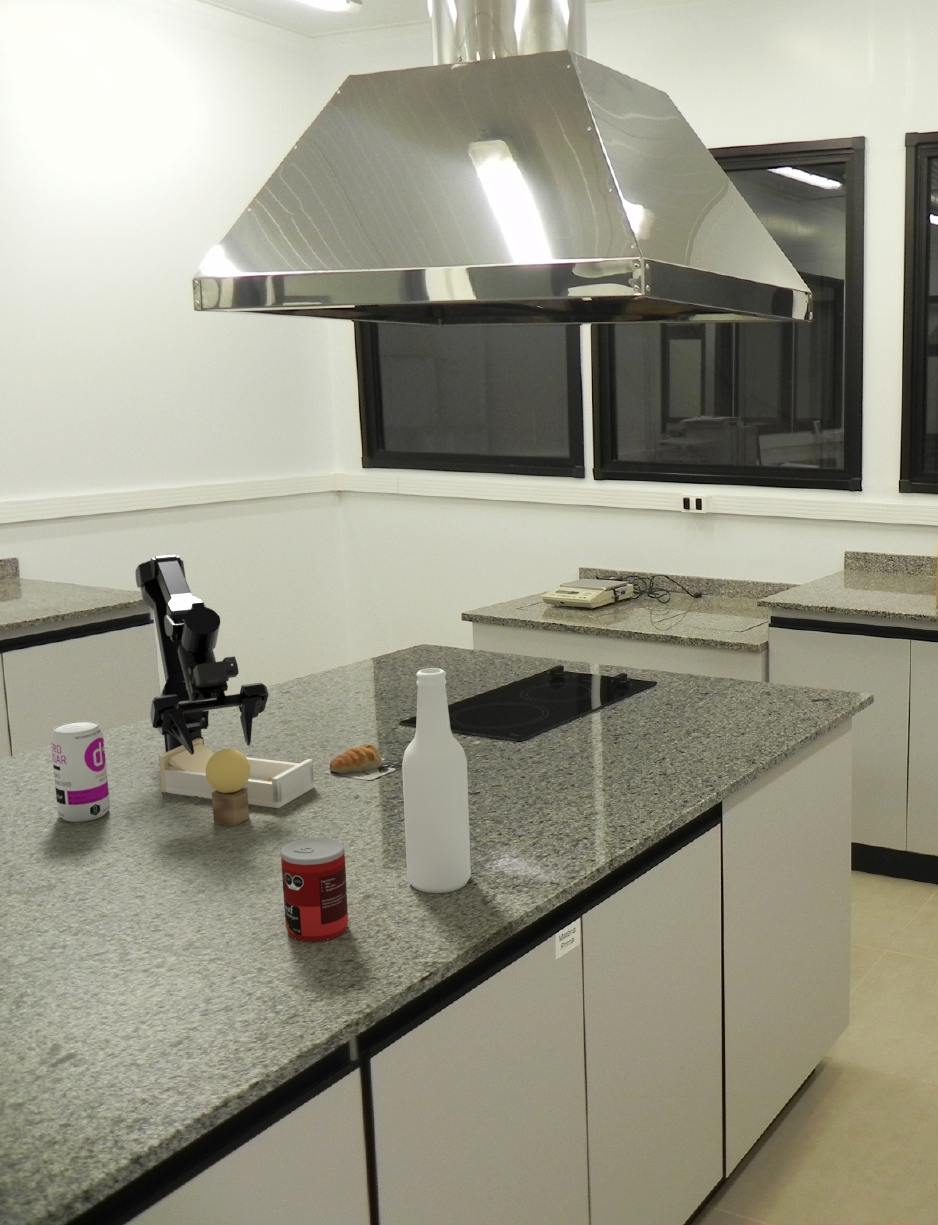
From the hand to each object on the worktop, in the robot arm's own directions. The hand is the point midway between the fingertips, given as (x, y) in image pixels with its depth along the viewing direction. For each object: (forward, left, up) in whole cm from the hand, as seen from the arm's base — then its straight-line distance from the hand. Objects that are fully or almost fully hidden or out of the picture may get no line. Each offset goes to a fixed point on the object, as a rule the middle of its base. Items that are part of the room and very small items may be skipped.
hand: (221, 748), depth 197 cm
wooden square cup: (+3, -2, -11) cm, 12 cm away
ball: (+3, -2, -3) cm, 5 cm away
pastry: (+8, +29, -12) cm, 32 cm away
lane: (-5, +11, -11) cm, 16 cm away
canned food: (+37, -31, -11) cm, 50 cm away
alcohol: (+45, -12, -11) cm, 48 cm away
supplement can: (-22, -8, -11) cm, 26 cm away
